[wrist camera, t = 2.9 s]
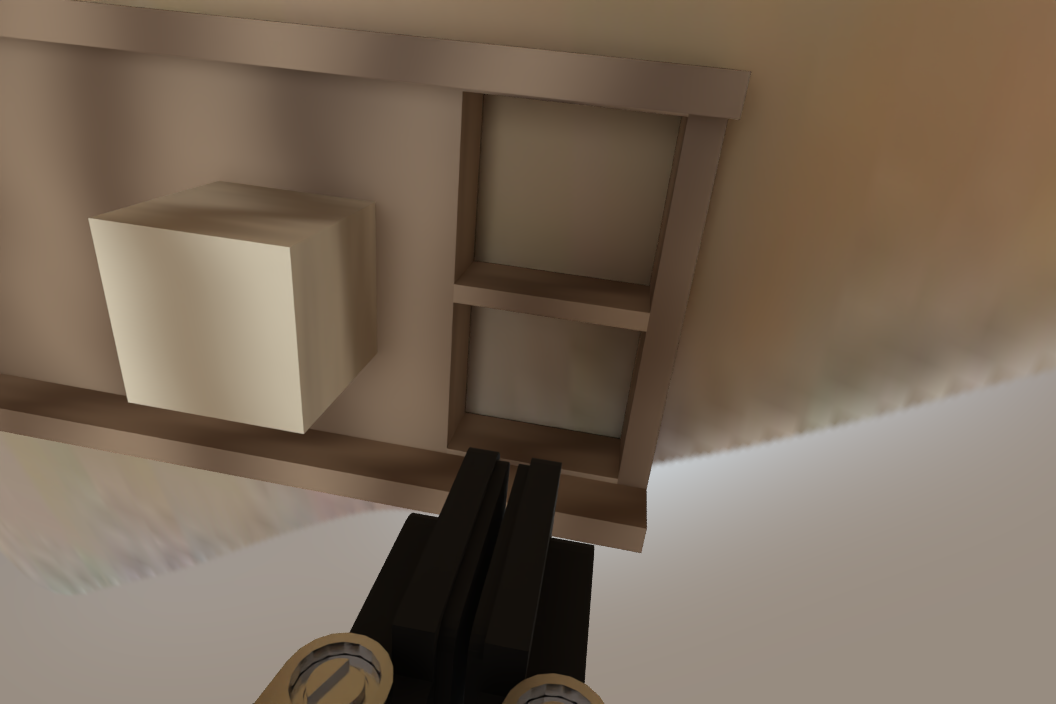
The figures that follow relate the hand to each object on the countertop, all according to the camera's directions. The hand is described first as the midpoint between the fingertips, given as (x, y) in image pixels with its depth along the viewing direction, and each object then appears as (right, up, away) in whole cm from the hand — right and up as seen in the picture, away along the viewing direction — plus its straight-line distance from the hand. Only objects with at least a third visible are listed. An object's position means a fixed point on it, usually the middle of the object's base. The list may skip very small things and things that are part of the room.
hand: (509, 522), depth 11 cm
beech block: (-7, +6, +9) cm, 12 cm away
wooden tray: (-8, +7, +11) cm, 16 cm away
